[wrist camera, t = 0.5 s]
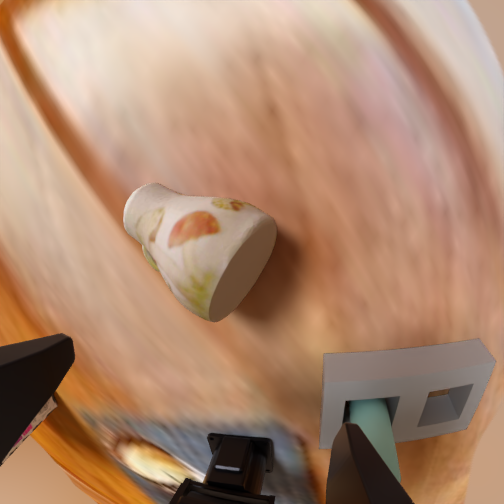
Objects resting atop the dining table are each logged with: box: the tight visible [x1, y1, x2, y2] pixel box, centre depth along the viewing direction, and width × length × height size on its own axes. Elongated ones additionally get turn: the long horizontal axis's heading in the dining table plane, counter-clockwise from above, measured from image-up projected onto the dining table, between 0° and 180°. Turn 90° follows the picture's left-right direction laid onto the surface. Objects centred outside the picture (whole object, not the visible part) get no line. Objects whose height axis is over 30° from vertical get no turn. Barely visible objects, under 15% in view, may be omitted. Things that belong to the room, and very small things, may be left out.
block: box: [319, 339, 496, 449], centre depth 20 cm, size 8×14×4 cm, turn 95°
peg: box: [349, 398, 401, 483], centre depth 18 cm, size 3×3×10 cm
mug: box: [123, 183, 277, 322], centre depth 19 cm, size 8×10×10 cm
